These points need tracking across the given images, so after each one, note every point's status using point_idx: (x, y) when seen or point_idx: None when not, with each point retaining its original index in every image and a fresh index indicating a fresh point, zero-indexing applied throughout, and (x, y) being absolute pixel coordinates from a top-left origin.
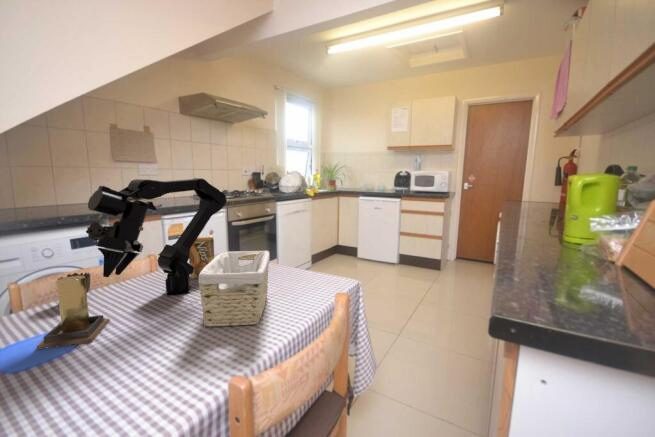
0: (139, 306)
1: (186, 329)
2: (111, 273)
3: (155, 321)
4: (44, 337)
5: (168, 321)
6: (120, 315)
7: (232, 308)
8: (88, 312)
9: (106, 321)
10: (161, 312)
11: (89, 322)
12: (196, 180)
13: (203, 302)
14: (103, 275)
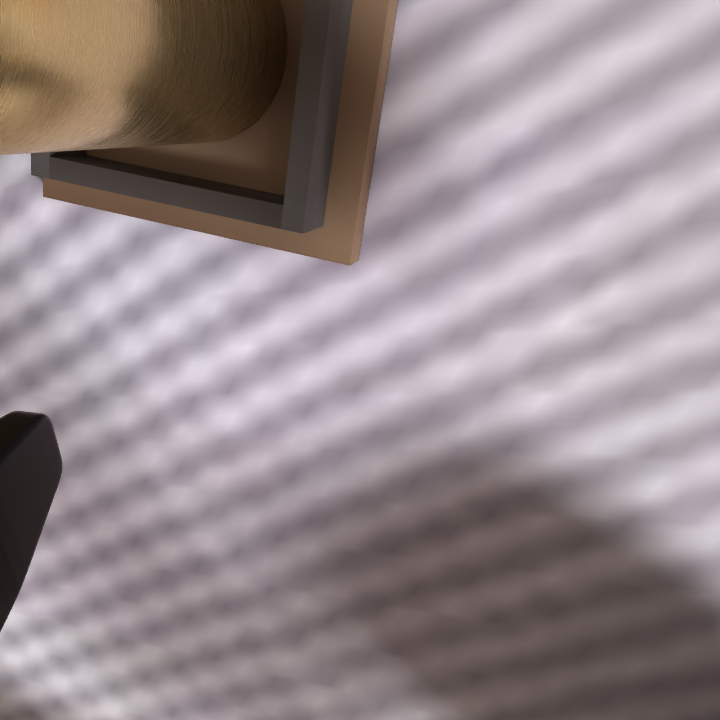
0: (591, 482)
1: (57, 665)
2: (24, 556)
3: (216, 552)
4: None
5: (186, 615)
6: (448, 334)
7: None
8: (128, 146)
9: (290, 251)
10: (353, 607)
11: (202, 140)
12: None
13: None
14: (4, 421)
